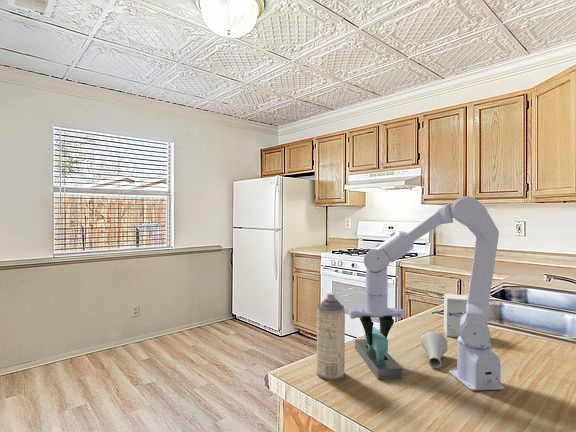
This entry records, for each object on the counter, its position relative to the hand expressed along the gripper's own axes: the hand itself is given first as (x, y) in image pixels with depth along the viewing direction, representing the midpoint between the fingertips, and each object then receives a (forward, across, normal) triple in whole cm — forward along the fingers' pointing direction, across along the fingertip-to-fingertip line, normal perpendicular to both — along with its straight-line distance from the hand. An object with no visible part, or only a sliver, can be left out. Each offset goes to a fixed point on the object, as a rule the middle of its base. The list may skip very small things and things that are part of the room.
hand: (376, 344), depth 97 cm
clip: (+3, 0, 0) cm, 3 cm away
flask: (+1, -18, -4) cm, 18 cm away
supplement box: (+5, -34, -19) cm, 39 cm away
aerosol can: (+5, +14, +6) cm, 16 cm away
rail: (+5, 0, 0) cm, 5 cm away
